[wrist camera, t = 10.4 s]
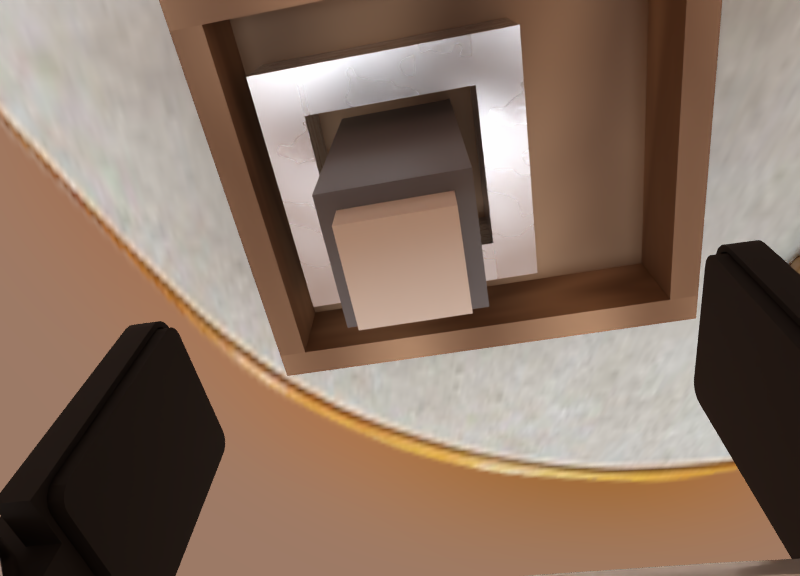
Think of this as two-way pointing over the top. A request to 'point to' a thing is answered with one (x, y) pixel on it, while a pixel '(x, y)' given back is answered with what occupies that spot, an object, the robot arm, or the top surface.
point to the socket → (394, 79)
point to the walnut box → (548, 154)
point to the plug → (401, 218)
